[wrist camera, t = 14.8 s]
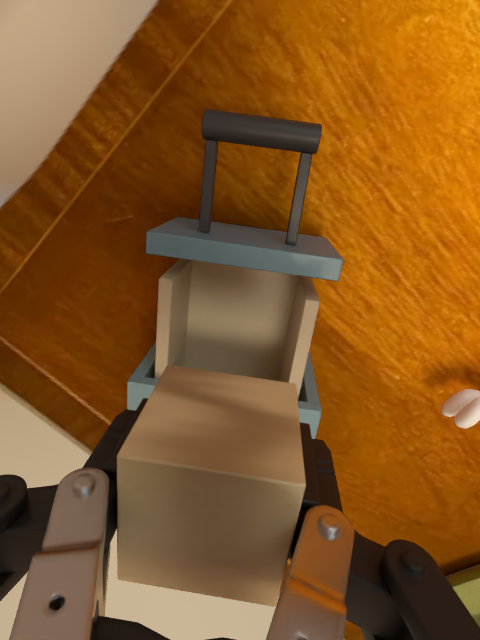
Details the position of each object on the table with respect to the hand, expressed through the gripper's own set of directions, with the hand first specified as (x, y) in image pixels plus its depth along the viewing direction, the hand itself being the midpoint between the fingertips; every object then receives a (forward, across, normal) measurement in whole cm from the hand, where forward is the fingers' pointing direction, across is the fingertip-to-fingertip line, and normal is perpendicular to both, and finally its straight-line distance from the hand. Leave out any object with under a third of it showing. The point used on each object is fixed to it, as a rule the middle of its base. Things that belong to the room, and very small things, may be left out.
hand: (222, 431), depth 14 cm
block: (0, 0, 0) cm, 0 cm away
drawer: (+15, 0, -2) cm, 15 cm away
